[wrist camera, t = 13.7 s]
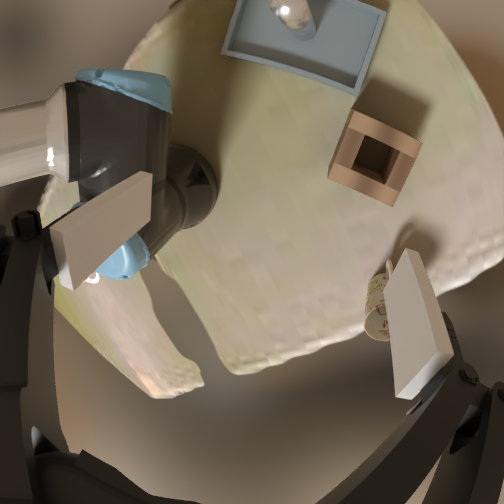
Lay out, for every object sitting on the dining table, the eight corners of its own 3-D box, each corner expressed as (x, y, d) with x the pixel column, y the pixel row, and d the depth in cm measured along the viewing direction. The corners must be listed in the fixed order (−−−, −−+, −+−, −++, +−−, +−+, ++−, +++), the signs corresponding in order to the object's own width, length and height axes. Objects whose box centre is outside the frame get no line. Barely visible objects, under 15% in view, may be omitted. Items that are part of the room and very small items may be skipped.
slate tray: (227, 55, 39) (220, 53, 36) (252, -21, 31) (247, -27, 28) (355, 96, 37) (357, 96, 35) (383, 16, 30) (387, 12, 27)
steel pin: (287, 36, 34) (262, 12, 21) (294, 16, 32) (272, -18, 19) (312, 43, 34) (300, 21, 21) (319, 23, 32) (310, -10, 19)
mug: (362, 304, 55) (363, 342, 47) (360, 247, 49) (363, 281, 41) (403, 302, 52) (410, 339, 44) (407, 244, 46) (418, 277, 38)
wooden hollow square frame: (328, 167, 44) (327, 178, 39) (351, 108, 38) (354, 110, 33) (386, 192, 43) (392, 207, 38) (411, 136, 38) (422, 143, 33)
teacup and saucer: (73, 265, 73) (64, 273, 69) (80, 249, 68) (70, 257, 65) (95, 287, 74) (87, 295, 71) (103, 271, 70) (94, 280, 67)
